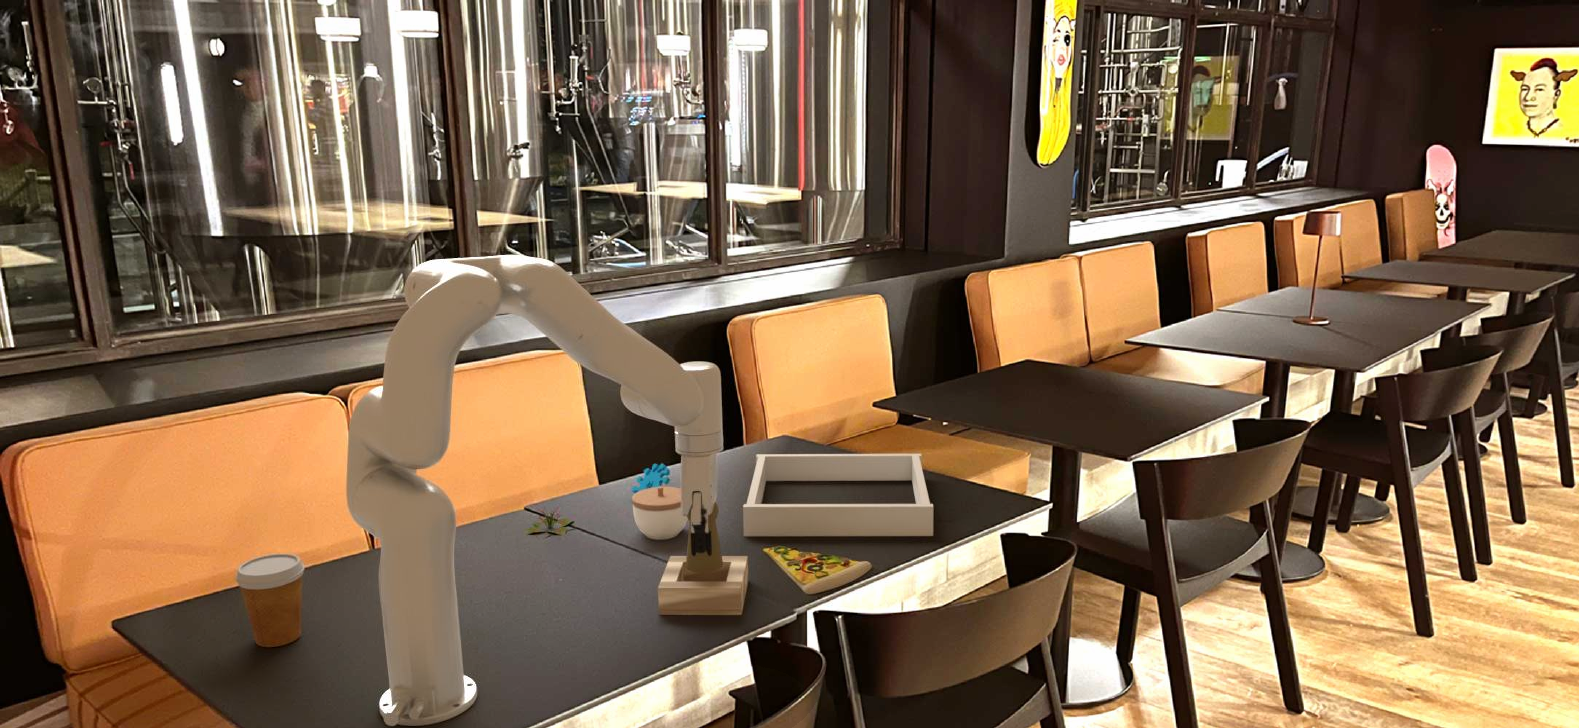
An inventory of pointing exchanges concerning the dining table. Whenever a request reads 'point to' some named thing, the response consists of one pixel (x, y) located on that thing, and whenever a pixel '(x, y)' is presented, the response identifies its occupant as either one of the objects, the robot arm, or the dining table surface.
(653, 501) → the lidded jar
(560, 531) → the lily flower
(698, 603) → the caddy
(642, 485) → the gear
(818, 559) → the pizza slice
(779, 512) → the white rectangular frame
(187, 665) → the dining table surface
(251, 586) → the disposable coffee cup
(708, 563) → the cork
